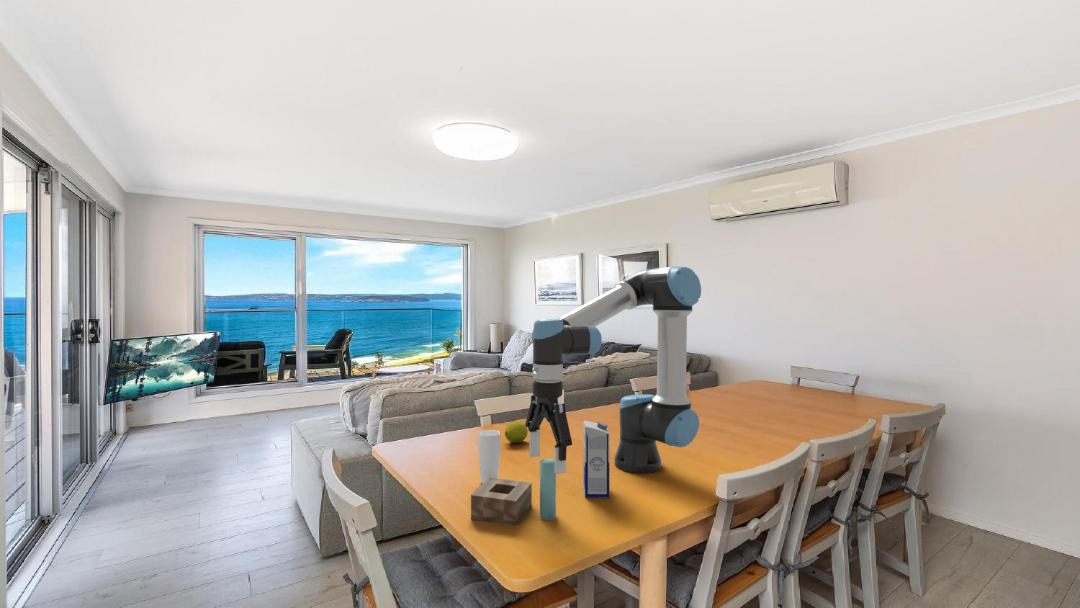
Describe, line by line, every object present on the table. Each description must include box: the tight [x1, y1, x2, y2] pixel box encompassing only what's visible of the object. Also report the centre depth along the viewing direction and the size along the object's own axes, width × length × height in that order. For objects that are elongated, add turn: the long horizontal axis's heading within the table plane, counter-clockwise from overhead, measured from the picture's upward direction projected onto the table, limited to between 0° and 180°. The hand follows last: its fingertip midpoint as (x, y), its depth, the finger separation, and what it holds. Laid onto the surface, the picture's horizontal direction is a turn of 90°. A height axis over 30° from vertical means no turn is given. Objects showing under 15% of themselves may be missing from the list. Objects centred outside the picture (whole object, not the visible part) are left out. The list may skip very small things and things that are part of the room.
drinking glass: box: [477, 429, 502, 485], centre depth 142 cm, size 7×7×15 cm
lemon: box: [504, 421, 529, 444], centre depth 181 cm, size 11×8×8 cm
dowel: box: [539, 458, 557, 521], centre depth 120 cm, size 4×4×14 cm
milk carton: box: [583, 420, 611, 499], centre depth 135 cm, size 7×7×20 cm
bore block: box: [470, 478, 533, 527], centre depth 123 cm, size 12×12×6 cm
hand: (546, 464), depth 120 cm, fingers open, 13 cm apart
